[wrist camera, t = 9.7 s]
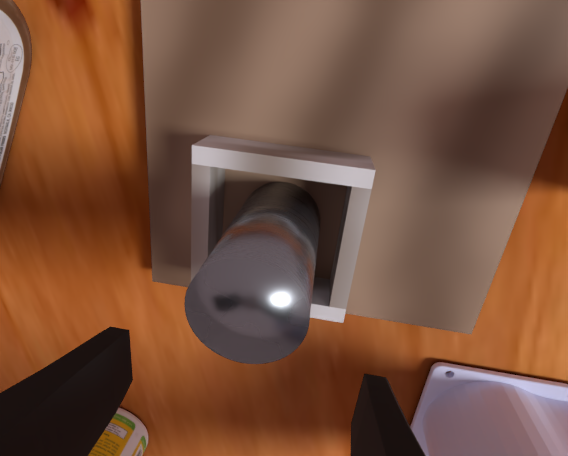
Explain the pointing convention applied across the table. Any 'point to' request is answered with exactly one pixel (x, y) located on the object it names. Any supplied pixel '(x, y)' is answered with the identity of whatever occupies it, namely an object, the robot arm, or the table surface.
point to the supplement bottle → (122, 437)
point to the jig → (354, 137)
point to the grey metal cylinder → (259, 278)
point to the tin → (12, 73)
